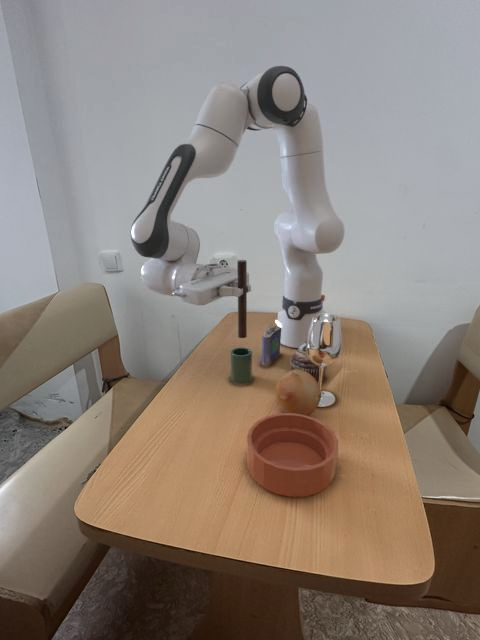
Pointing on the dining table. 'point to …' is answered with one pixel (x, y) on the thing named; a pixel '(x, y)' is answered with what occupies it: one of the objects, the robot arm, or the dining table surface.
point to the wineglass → (324, 347)
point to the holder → (241, 365)
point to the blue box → (271, 344)
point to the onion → (298, 392)
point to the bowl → (292, 454)
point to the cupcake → (305, 363)
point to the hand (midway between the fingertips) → (245, 290)
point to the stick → (242, 299)
